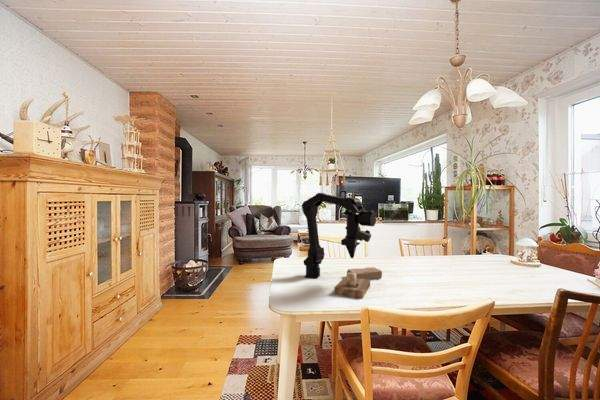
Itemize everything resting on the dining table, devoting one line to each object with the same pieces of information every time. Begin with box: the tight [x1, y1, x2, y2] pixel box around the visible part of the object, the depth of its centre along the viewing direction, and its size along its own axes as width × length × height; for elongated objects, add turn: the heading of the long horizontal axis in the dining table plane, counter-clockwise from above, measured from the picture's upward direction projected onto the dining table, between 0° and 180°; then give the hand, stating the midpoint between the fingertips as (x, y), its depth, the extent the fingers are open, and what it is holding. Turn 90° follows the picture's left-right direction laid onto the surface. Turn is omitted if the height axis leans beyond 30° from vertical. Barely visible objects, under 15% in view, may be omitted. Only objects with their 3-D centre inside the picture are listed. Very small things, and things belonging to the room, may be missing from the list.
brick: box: [346, 266, 383, 281], centre depth 147 cm, size 16×8×5 cm, turn 105°
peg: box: [346, 272, 356, 288], centre depth 125 cm, size 4×4×8 cm
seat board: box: [333, 276, 371, 300], centre depth 127 cm, size 12×18×3 cm, turn 157°
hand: (352, 258), depth 134 cm, fingers closed
